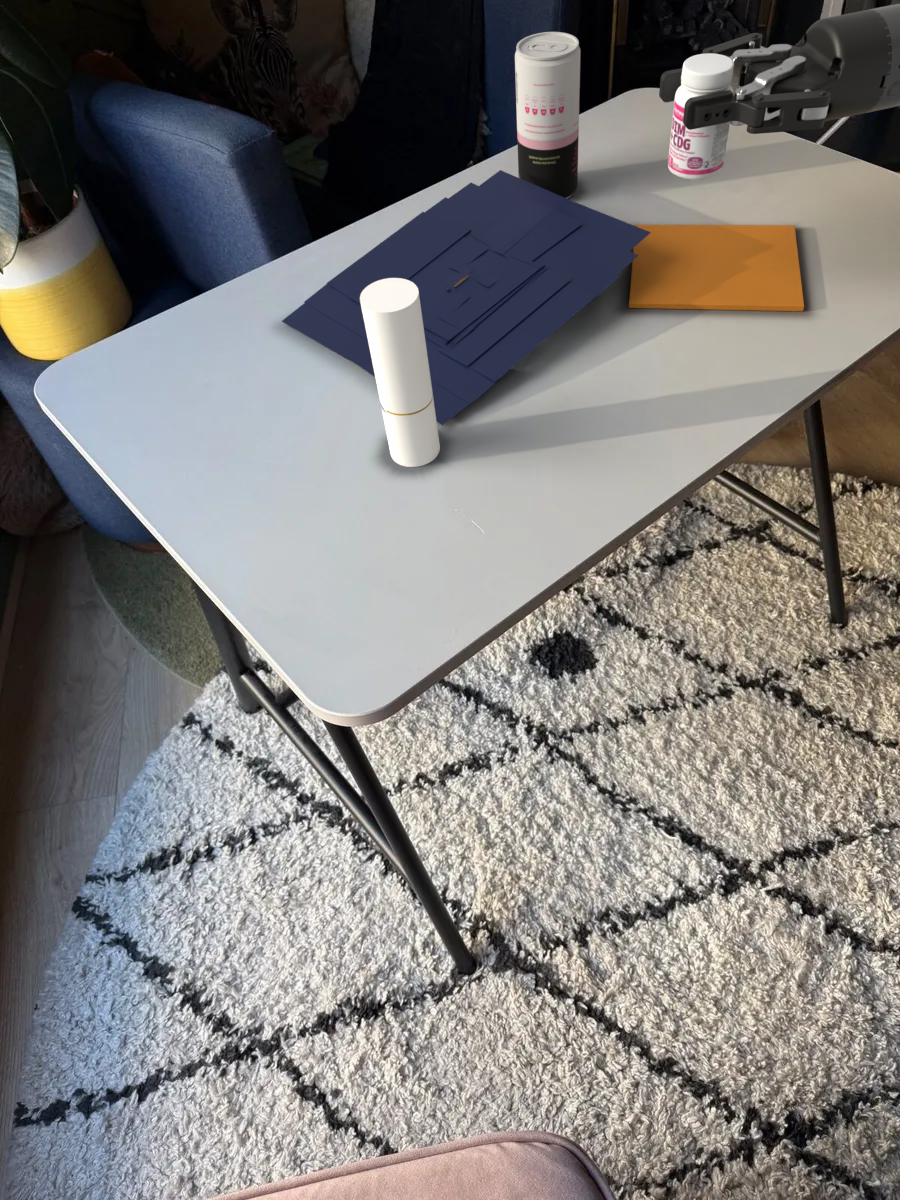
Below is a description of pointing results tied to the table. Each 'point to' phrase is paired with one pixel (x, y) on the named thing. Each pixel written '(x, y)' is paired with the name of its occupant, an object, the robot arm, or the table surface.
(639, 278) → the amber mat
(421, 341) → the tube
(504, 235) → the papers
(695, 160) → the pill bottle
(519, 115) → the beverage can
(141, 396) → the table surface
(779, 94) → the robot arm
